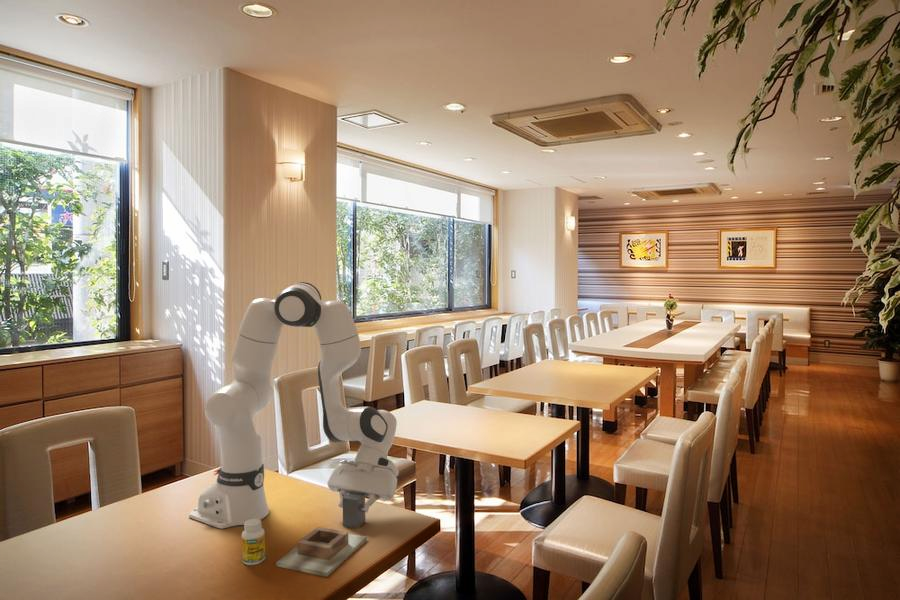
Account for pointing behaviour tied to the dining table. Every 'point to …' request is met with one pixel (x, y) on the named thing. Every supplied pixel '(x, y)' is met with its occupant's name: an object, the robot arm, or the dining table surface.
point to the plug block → (353, 510)
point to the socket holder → (321, 551)
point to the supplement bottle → (253, 542)
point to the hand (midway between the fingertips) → (352, 509)
